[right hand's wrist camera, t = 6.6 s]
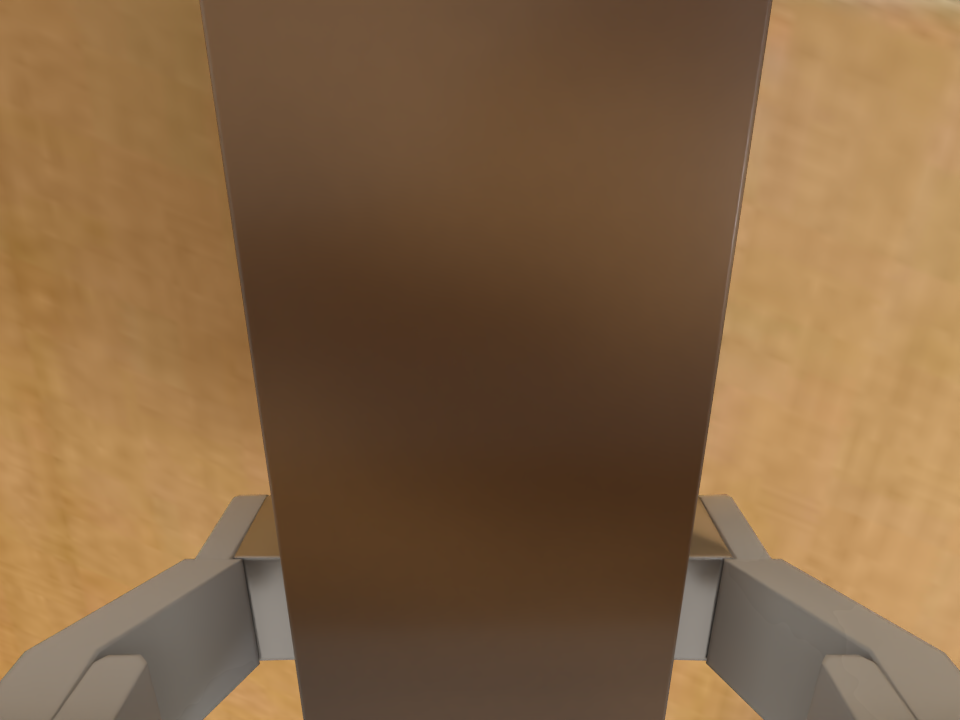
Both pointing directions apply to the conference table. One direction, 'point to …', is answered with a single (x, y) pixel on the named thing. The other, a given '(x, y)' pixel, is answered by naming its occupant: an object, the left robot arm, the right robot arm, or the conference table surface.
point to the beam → (485, 332)
